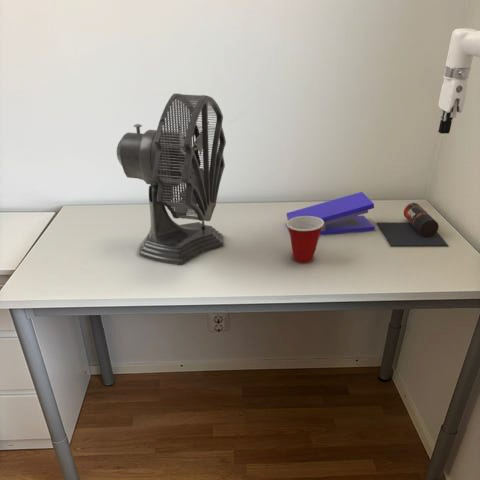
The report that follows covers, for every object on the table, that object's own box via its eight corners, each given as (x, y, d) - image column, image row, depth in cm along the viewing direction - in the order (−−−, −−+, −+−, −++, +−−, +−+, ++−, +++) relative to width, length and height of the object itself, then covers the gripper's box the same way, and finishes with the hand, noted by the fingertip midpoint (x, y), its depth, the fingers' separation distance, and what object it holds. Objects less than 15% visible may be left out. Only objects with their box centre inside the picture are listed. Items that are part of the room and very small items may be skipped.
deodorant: (417, 219, 179) (434, 238, 167) (401, 218, 178) (417, 236, 166) (422, 203, 176) (441, 221, 164) (406, 202, 175) (423, 219, 163)
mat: (429, 223, 177) (429, 222, 176) (447, 246, 162) (447, 245, 162) (377, 223, 176) (377, 222, 176) (391, 246, 161) (391, 245, 161)
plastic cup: (292, 247, 160) (295, 211, 154) (325, 255, 156) (329, 218, 149) (278, 262, 152) (280, 224, 146) (312, 270, 148) (316, 231, 141)
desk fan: (267, 261, 152) (273, 100, 127) (163, 289, 139) (147, 114, 114) (215, 221, 177) (212, 79, 151) (123, 241, 163) (102, 88, 138)
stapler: (375, 231, 171) (379, 202, 166) (294, 237, 167) (296, 208, 161) (361, 217, 180) (365, 190, 175) (284, 223, 176) (286, 195, 170)
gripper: (478, 76, 157) (463, 138, 167) (459, 69, 169) (446, 127, 179) (453, 77, 156) (440, 138, 167) (436, 69, 169) (425, 127, 179)
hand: (443, 132), depth 173 cm, fingers closed
